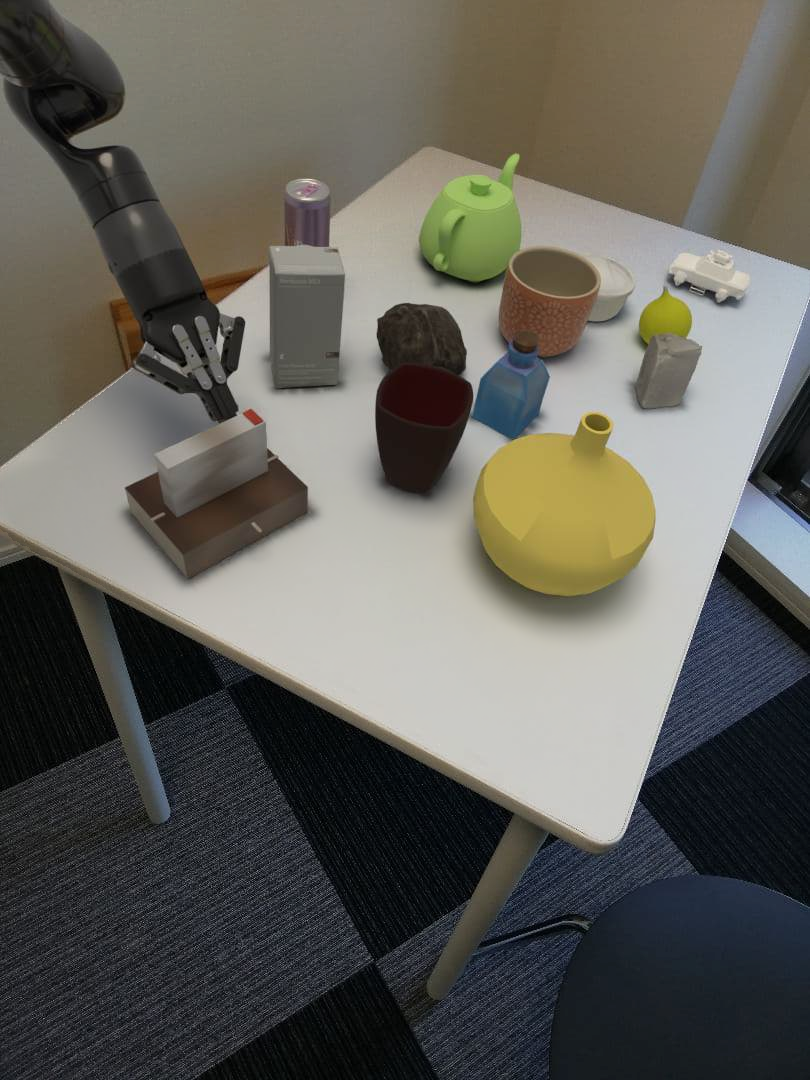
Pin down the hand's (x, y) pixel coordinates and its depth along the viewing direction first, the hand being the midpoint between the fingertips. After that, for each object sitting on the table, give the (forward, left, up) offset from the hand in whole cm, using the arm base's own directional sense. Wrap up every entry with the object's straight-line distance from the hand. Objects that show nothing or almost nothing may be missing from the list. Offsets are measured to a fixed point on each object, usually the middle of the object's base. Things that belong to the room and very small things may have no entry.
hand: (229, 421), depth 81 cm
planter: (+43, +21, -8) cm, 49 cm away
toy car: (+75, +32, -8) cm, 82 cm away
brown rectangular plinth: (-2, -6, -8) cm, 10 cm away
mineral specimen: (+56, +9, -8) cm, 57 cm away
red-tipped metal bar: (-2, -6, -4) cm, 7 cm away
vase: (+32, -16, -8) cm, 37 cm away
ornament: (+61, +19, -8) cm, 65 cm away
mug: (+21, -1, -8) cm, 23 cm away
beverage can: (+13, +35, -8) cm, 38 cm away
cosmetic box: (+10, +17, -8) cm, 21 cm away
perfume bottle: (+34, +6, -8) cm, 36 cm away
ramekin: (+54, +29, -8) cm, 62 cm away
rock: (+25, +16, -8) cm, 31 cm away
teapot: (+39, +42, -8) cm, 58 cm away
